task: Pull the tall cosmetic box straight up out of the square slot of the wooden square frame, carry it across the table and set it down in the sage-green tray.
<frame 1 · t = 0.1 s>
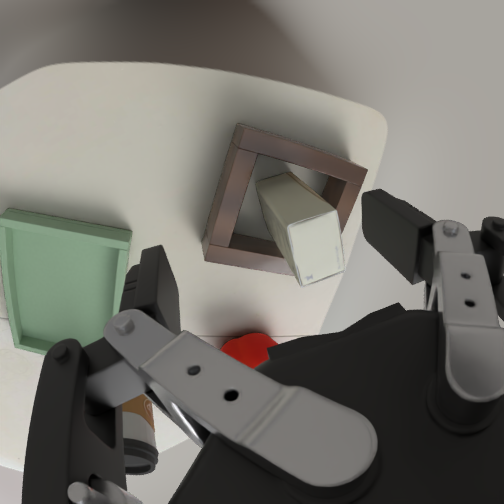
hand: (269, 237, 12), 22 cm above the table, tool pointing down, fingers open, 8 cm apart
cosmetic box: (277, 199, 36), resting in wooden square frame
coffee cup: (130, 381, 45), on the table
tomato: (245, 345, 46), on the table
wooden square frame: (277, 200, 36), on the table
tray: (64, 291, 35), on the table
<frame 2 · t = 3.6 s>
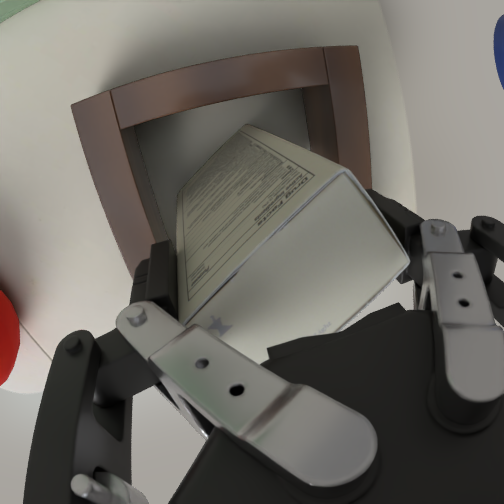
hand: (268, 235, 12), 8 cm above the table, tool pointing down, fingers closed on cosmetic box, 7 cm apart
cosmetic box: (234, 177, 19), resting in wooden square frame, touching gripper
wooden square frame: (235, 178, 19), on the table
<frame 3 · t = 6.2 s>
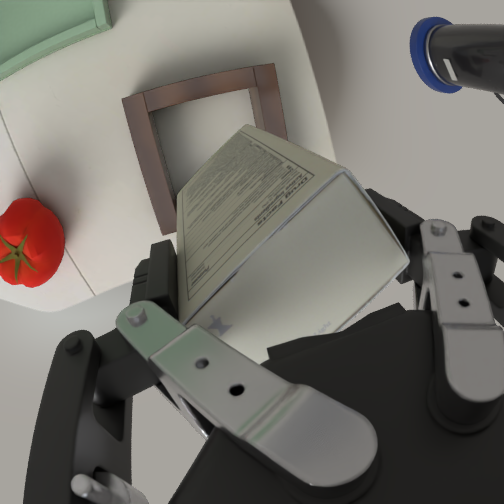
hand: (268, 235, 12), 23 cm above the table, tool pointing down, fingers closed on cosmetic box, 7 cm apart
cosmetic box: (234, 177, 19), point 14 cm above the table, touching gripper
tomato: (38, 226, 31), on the table
wooden square frame: (210, 142, 32), on the table
tray: (18, 6, 18), on the table
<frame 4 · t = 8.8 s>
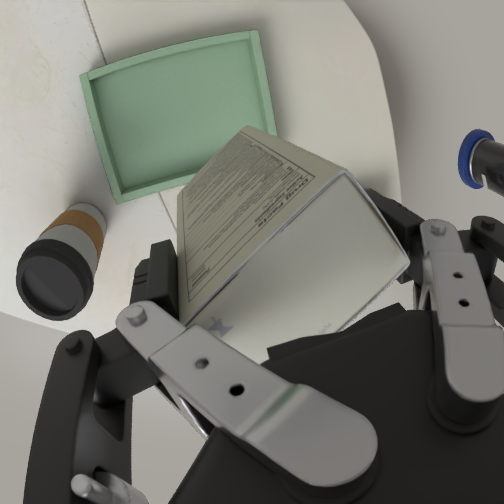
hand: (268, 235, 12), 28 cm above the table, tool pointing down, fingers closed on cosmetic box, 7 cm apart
cosmetic box: (234, 178, 19), point 20 cm above the table, touching gripper
coffee cup: (85, 223, 38), on the table
tray: (181, 112, 34), on the table
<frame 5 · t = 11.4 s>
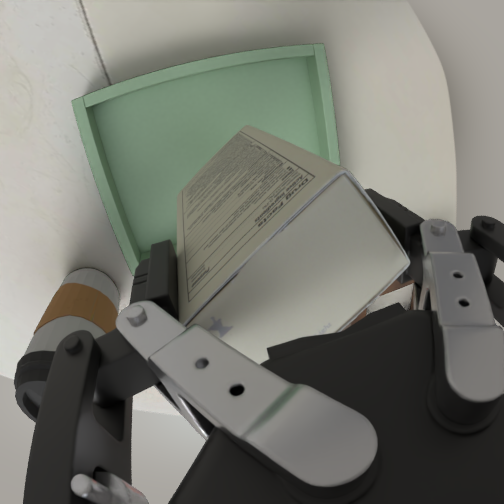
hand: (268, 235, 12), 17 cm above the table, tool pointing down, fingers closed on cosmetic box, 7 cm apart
cosmetic box: (234, 178, 19), point 8 cm above the table, touching gripper
coffee cup: (91, 290, 30), on the table
wooden square frame: (383, 299, 40), on the table
tray: (216, 152, 27), on the table
when the fingers open (9 cm above the table, at t = 13.9 s): cosmetic box stays where it is, resting on tray.
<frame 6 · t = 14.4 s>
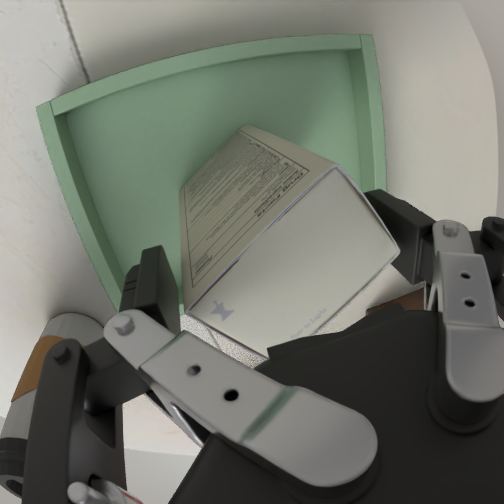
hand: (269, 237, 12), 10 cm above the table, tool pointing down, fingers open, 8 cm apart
cosmetic box: (234, 175, 20), point 1 cm above the table, touching tray
coffee cup: (79, 336, 24), on the table
wooden square frame: (412, 333, 34), on the table
tray: (230, 172, 21), on the table
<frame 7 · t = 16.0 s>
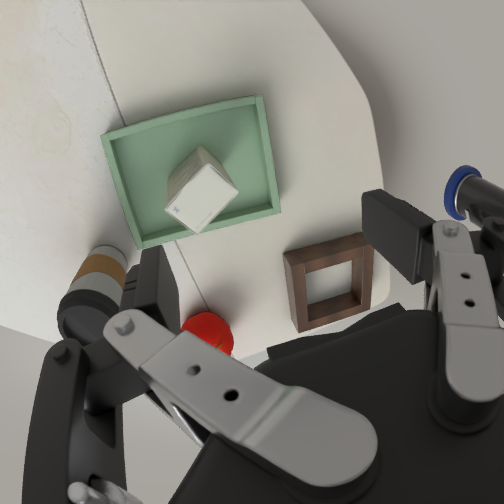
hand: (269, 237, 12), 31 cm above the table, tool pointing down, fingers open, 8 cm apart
cosmetic box: (195, 170, 40), point 1 cm above the table, touching tray
coffee cup: (107, 262, 44), on the table
tomato: (204, 324, 54), on the table
wooden square frame: (325, 277, 54), on the table
tray: (193, 168, 41), on the table
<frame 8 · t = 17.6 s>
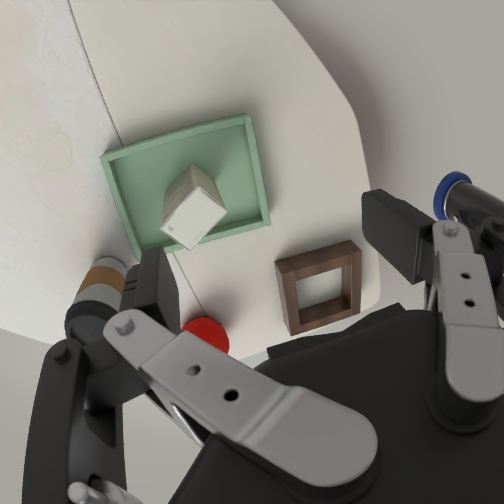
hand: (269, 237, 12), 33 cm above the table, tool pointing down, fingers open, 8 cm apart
cosmetic box: (189, 186, 43), point 1 cm above the table, touching tray
coffee cup: (109, 272, 47), on the table
tomato: (201, 328, 57), on the table
wooden square frame: (316, 283, 57), on the table
tray: (188, 185, 44), on the table
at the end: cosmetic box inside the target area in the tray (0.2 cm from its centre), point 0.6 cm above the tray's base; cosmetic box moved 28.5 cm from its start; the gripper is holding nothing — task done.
